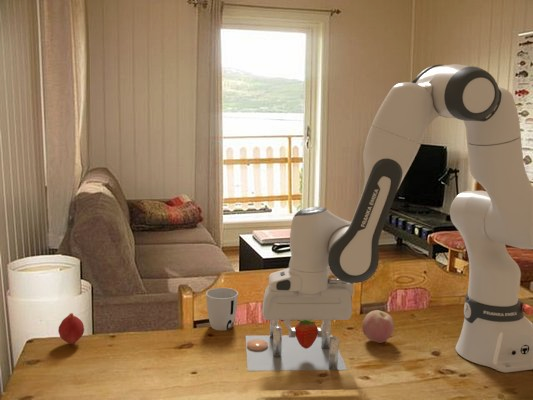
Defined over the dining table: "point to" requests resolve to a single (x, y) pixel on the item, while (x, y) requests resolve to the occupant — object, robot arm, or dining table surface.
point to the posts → (326, 343)
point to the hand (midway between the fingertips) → (306, 336)
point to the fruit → (306, 332)
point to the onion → (71, 329)
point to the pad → (257, 345)
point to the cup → (222, 307)
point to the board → (290, 356)
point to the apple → (378, 326)
